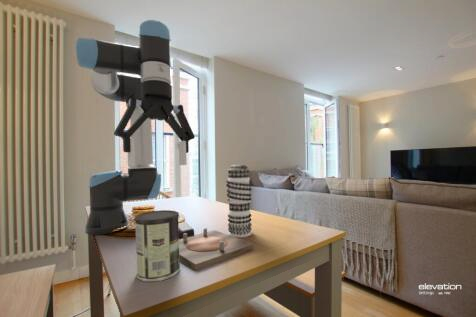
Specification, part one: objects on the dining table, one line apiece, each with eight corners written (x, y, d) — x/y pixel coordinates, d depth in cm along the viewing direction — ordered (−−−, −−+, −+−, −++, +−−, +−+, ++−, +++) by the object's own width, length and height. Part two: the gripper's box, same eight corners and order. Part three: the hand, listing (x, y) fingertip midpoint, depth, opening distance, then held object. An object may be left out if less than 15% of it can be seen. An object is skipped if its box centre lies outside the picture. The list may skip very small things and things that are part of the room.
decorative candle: (222, 233, 89) (220, 165, 89) (241, 228, 94) (240, 164, 94) (237, 239, 82) (236, 165, 81) (257, 233, 87) (256, 164, 87)
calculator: (144, 228, 86) (185, 220, 93) (145, 240, 86) (186, 231, 93) (147, 237, 76) (194, 227, 83) (149, 250, 76) (195, 239, 83)
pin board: (161, 248, 75) (161, 235, 75) (214, 234, 88) (214, 223, 88) (195, 270, 60) (195, 254, 60) (253, 248, 73) (253, 235, 73)
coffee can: (166, 259, 67) (165, 208, 67) (188, 270, 60) (186, 213, 60) (128, 272, 60) (127, 215, 60) (147, 287, 52) (146, 222, 52)
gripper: (107, 67, 51) (109, 166, 51) (204, 88, 68) (207, 164, 67) (98, 77, 57) (100, 167, 56) (191, 95, 74) (193, 165, 73)
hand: (159, 165), depth 62 cm, fingers open, 13 cm apart
